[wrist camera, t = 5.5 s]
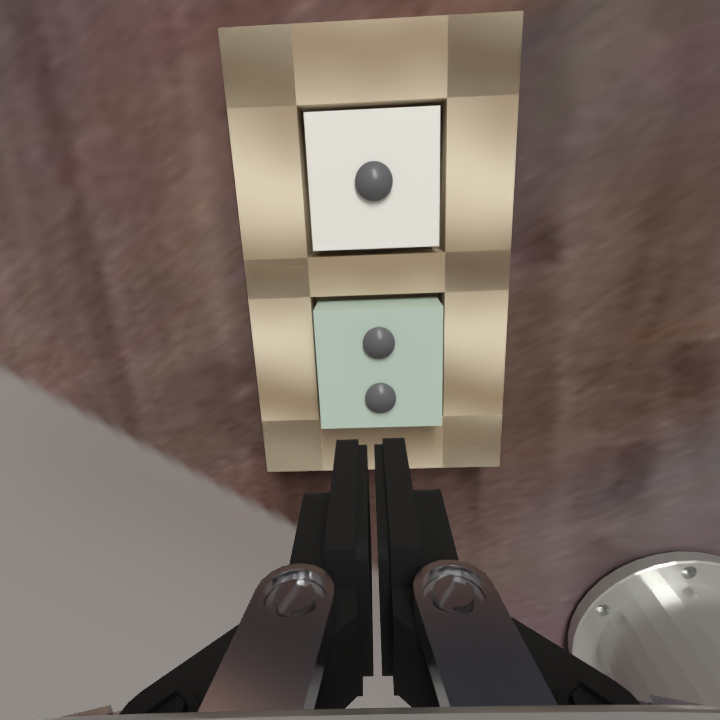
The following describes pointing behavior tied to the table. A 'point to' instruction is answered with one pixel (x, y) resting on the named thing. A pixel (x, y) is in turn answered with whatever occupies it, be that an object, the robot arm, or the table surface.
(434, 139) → the one dot tile
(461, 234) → the tile board
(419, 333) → the two dot tile
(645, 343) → the table surface
